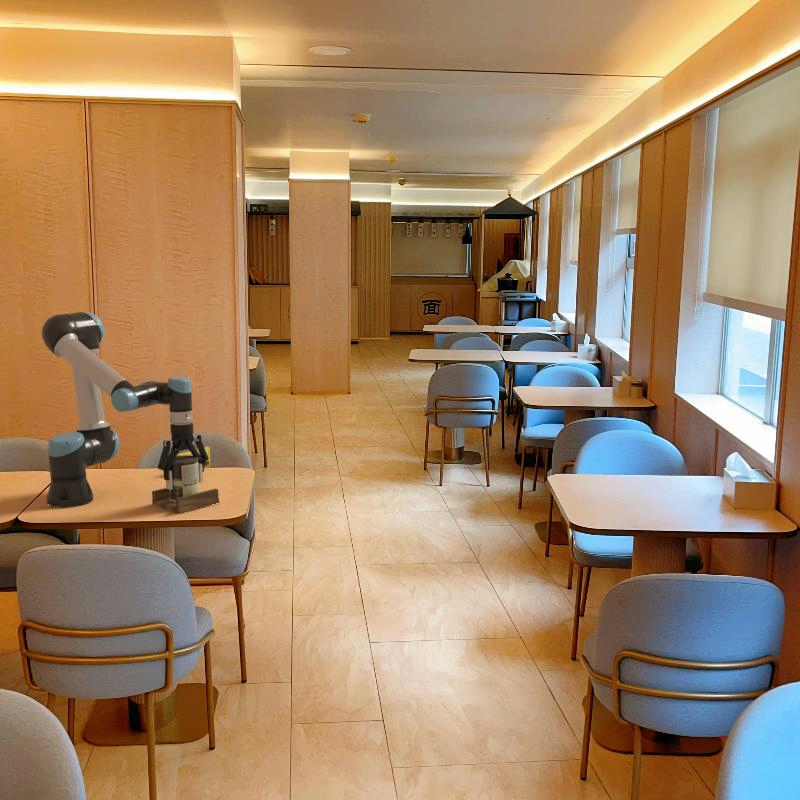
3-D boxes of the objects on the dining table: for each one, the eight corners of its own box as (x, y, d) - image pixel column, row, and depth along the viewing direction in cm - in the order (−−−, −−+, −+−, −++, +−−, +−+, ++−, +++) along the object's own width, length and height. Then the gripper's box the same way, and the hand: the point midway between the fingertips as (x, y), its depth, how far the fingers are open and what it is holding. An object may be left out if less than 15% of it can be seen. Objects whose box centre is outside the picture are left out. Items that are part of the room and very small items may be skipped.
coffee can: (167, 503, 303) (165, 462, 301) (171, 495, 313) (169, 455, 311) (198, 502, 304) (196, 461, 302) (201, 494, 315) (199, 454, 312)
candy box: (180, 476, 348) (179, 455, 347) (176, 475, 349) (175, 454, 348) (211, 467, 362) (210, 447, 360) (207, 466, 363) (206, 446, 361)
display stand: (152, 505, 309) (151, 491, 308) (191, 495, 321) (190, 481, 320) (179, 514, 298) (179, 499, 297) (219, 503, 310) (218, 489, 309)
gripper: (157, 429, 293) (161, 494, 297) (217, 419, 311) (220, 480, 315) (144, 426, 298) (148, 490, 302) (204, 416, 316) (207, 476, 320)
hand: (184, 485), depth 308 cm, fingers open, 12 cm apart
